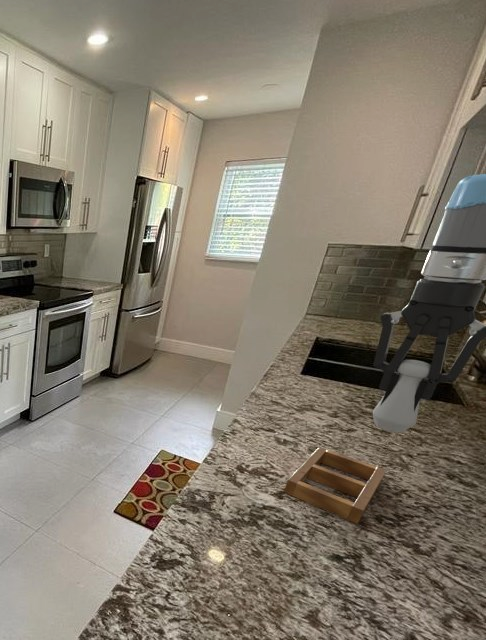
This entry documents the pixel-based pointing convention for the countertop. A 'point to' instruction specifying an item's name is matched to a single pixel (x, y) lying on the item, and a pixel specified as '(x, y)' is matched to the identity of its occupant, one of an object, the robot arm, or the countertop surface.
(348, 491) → the frame
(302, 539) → the countertop surface
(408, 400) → the salt shaker
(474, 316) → the robot arm
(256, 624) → the countertop surface
